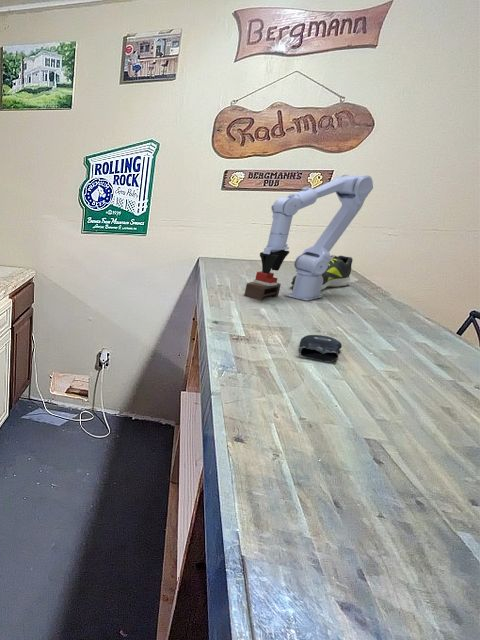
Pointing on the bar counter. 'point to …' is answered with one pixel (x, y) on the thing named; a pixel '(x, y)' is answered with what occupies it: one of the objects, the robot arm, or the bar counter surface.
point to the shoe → (265, 279)
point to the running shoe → (336, 272)
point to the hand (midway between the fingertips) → (270, 271)
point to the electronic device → (319, 348)
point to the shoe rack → (261, 290)
